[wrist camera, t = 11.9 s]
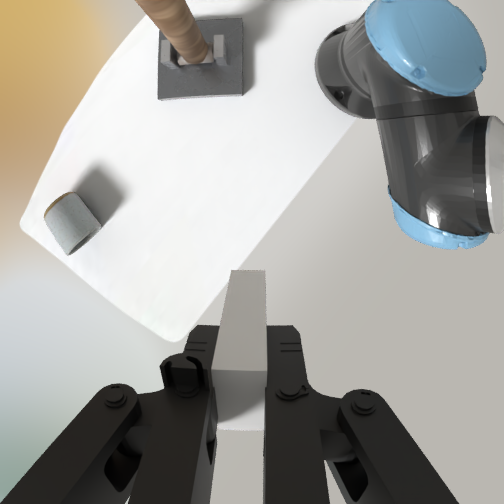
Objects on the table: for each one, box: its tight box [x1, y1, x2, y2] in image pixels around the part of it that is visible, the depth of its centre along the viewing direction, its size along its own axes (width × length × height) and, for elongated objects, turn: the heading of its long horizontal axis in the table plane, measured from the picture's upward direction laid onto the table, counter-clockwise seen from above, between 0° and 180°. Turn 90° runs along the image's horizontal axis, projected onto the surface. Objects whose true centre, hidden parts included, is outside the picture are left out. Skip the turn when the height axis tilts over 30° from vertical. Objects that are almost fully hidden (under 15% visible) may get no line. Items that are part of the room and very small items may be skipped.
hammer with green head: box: [135, 0, 214, 65], centre depth 25 cm, size 5×4×26 cm
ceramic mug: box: [44, 192, 101, 256], centre depth 46 cm, size 11×8×8 cm
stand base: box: [158, 18, 243, 101], centre depth 37 cm, size 12×12×7 cm
